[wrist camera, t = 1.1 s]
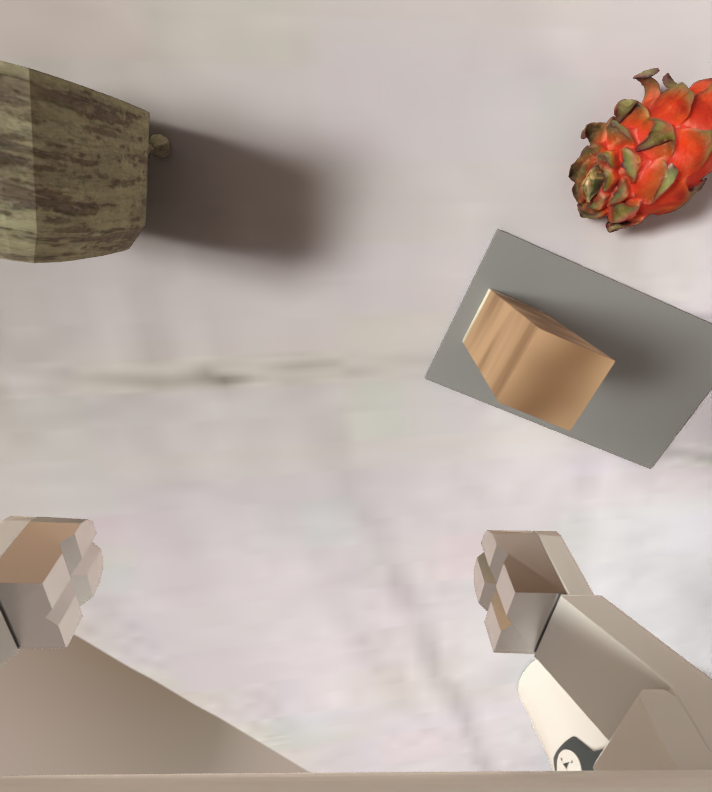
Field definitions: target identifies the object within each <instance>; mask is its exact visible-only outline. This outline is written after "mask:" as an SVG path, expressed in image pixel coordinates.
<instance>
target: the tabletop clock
mask: <svg viewBox="0 0 712 792" xmlns="http://www.w3.org/2000/svg"><path fill="white" fill-rule="evenodd" d="M149 118H150V114H149V112H147V111H145V110H143V109H140V108H138V107H136V106H133V105H131V104H129V103H126V102H124V101H122V100H119V99H116V98H113V97H111V96H108V95H105V94H103V93H100V92H97V91H95V90H92V89H89V88H87V87H84V86H81V85H78V84H75V83H72V82H70V81H67V80H64V79H61V78H58V77H55V76H52V75H49V74H45V73H42V72H39V71H36V70H33V69H30V68H26V67H23V66H19V65H15V64H11V63H8V62H4V61H0V258H1V259H8V260H15V261H23V262H31V263H46V262H62V261H72V260H78V259H85V258H91V257H98V256H104V255H108V254H112V253H116V252H120V251H124V250H127V249H129V248H130V247H131V245H132V244H133V242H134V241H135V239H136V238H137V236H138V235H139V234H140V232H141V231H142V229H143V228H144V226H145V224H146V204H147V175H148V154H149V153H151V152H152V153H153V154H154V155H156V156H158V157H165V156H167V155H168V153H169V152H170V150H171V149H170V142H169V141H168V139H167V138H166V137H164V136H163V135H161V134H156V135H152V136H151V138H150V140H149Z"/></svg>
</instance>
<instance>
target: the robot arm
mask: <svg viewBox="0 0 712 792" xmlns="http://www.w3.org/2000/svg"><path fill="white" fill-rule="evenodd" d="M95 535H96V530H95V527H94V524H93V521H91V520H87V519H70V518H51V517H22V516H10V517H8V518H6V519H4V520H3V521H2V522H1V523H0V668H1V667H2V666H3V665H4V664H5V663H6V662H8V661H9V660H10V659H11V658H12V657H13V656H14V655H16V654H17V653H18V652H19V650H18V649H41V648H43V649H48V648H67V646H68V644H69V642H70V640H71V638H72V636H73V634H74V632H75V630H76V629H77V627H78V625H79V623H80V621H81V619H82V617H83V615H82V612H81V609H80V606H81V605H82V604H83V603H85V602H86V601H88V600H89V599H90V598H92V597H93V596H94V594H95V591H96V589H97V587H98V585H99V583H100V579H101V575H102V571H103V556H102V552H101V549H100V548H99V547H98V546H97V545H95V544H94V543H93V542H92V540H93V539H94V537H95ZM481 544H482V547H483V550H484V553H482V554H481V555H480V556H479V557H477V560H476V564H475V568H474V585H475V592H476V595H477V599H478V602H479V604H480V605H481V606H482V607H483V608H484V609H486V610H487V611H488V612H487V615H486V619H485V622H484V623H485V626H486V629H487V632H488V635H489V639H490V642H491V645H492V648H493V652H497V653H523V654H535V657H536V660H534V661H533V662H532V663H531V664H530V665H529V666H528V667H527V668H526V670H525V671H524V673H523V674H522V676H521V678H520V681H519V686H518V693H519V698H520V700H521V702H522V704H523V706H524V708H525V709H526V711H527V713H528V715H529V717H530V719H531V721H532V726H533V729H534V732H535V734H536V736H537V737H538V738H540V741H541V743H542V745H543V748H544V750H545V753H546V755H547V757H548V760H549V762H550V765H551V767H552V769H553V771H481V772H356V773H238V774H237V773H236V774H233V773H232V774H130V775H129V774H128V775H127V774H125V775H123V774H122V775H16V776H15V775H14V776H13V775H12V776H0V792H712V679H711V678H709V677H708V676H707V675H705V674H704V673H703V672H701V671H700V670H699V669H697V668H696V667H695V666H693V665H692V664H691V663H690V662H688V661H687V660H686V659H684V658H683V657H682V656H680V655H679V654H678V653H676V652H675V651H674V650H672V649H671V648H670V647H668V646H667V645H666V644H665V643H663V642H662V641H661V640H659V639H658V638H657V637H655V636H654V635H653V634H651V633H650V632H649V631H647V630H646V629H645V628H643V627H642V626H641V625H640V624H638V623H637V622H636V621H634V620H633V619H632V618H630V617H629V616H628V615H626V614H625V613H624V612H622V611H621V610H620V609H618V608H617V607H616V606H615V605H613V604H612V603H611V602H609V601H608V600H607V599H605V598H604V597H603V596H599V595H594V594H593V592H592V590H591V588H590V587H589V585H588V583H587V581H586V579H585V578H584V576H583V574H582V572H581V571H580V569H579V567H578V565H577V563H576V562H575V560H574V558H573V556H572V554H571V553H570V551H569V549H568V547H567V546H566V544H565V542H564V540H563V538H562V537H561V535H560V534H559V533H557V532H556V531H503V530H487V531H486V532H485V534H484V535H483V539H482V542H481Z"/></svg>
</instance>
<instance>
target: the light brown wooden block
mask: <svg viewBox="0 0 712 792" xmlns="http://www.w3.org/2000/svg"><path fill="white" fill-rule="evenodd" d="M462 342H463V343H464V345H465V347H466V348H467V350H468V352H469V353H470V355H471V357H472V358H473V360H474V362H475V364H476V365H477V367H478V369H479V370H480V372H481V374H482V375H483V377H484V379H485V380H486V382H487V384H488V385H489V387H490V389H491V391H492V392H493V394H494V396H495V397H496V399H497V401H498V402H499V403H501V404H504V405H506V406H509V407H511V408H514V409H516V410H519V411H521V412H524V413H526V414H529V415H531V416H534V417H536V418H539V419H541V420H544V421H546V422H549V423H551V424H553V425H556V426H558V427H561V428H563V429H566V430H568V431H570V430H571V429H572V427H573V426H574V424H575V423H576V421H577V420H578V418H579V416H580V415H581V413H582V412H583V410H584V409H585V407H586V406H587V404H588V403H589V401H590V400H591V398H592V397H593V395H594V393H595V392H596V390H597V389H598V387H599V386H600V384H601V383H602V381H603V380H604V378H605V377H606V375H607V373H608V372H609V370H610V369H611V367H612V366H613V364H614V363H615V360H613V359H612V358H610V357H609V356H607V355H606V354H604V353H603V352H601V351H600V350H598V349H597V348H596V347H594V346H593V345H591V344H590V343H588V342H587V341H585V340H584V339H582V338H581V337H579V336H578V335H576V334H575V333H573V332H572V331H570V330H569V329H567V328H566V327H564V326H563V325H561V324H560V323H558V322H557V321H555V320H554V319H553V318H551V317H550V316H548V315H547V314H545V313H544V312H542V311H540V310H538V309H536V308H533V307H531V306H529V305H526V304H524V303H522V302H519V301H517V300H515V299H512V298H510V297H508V296H505V295H503V294H501V293H498V292H496V291H494V290H491V289H488V291H487V293H486V295H485V297H484V299H483V301H482V303H481V305H480V307H479V309H478V311H477V313H476V315H475V317H474V319H473V321H472V323H471V325H470V327H469V329H468V331H467V333H466V334H465V336H464V338H463V340H462Z"/></svg>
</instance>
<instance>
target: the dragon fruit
mask: <svg viewBox="0 0 712 792" xmlns="http://www.w3.org/2000/svg"><path fill="white" fill-rule="evenodd" d="M709 63H710V62H709ZM659 71H660V70H659V69H658V68H654V69H650V70H646V71H643V72H642V73H639V74H638V75H636V76H634V77H633V79H637V80H638V81H640V82H641V84H642V85H643V86H644V88H645V96H644V99H643V101H642V104H641V103H640V102H639V101H636V100H631V99H630V100H626V99H623V100H621V101H619V102H618V104H617V105H616V107H615V110H614V115H615V116H616V117H615V116H613V117H611V118H610V119H609V120H608V122H607V123H602V122H599V123H590V124H588V125H586V127H585V129H584V130H583V131H582V134H581V138H582V139H585V138H586V137H587V138H588V140H589V142H590V146H586V147H585V148H584V149H583V151H582V153H581V156H580V157H579V158H578V159H577V161H576V162H575V163H574V164H572V165H571V168H570V171H569V178H570V179H571V180H572V181H574V182H575V184H574V186H573V188H572V192H573V196H574V197H575V199H576V201H577V202H578V204H577V206H578V211H579V213H580V216H581V217H583V218H590V219H595V218H603V217H604V216H608V220H609V221H608V222H607V223H606V228H607V230H608V232H609V233H611V232H614V231H617V230H619V229H622V228H626V227H630V226H635V225H637V224H639V223H641V222H642V221H643V219H644V218H645V217H646V216H648V215H650V214H654V215H662V214H666V213H670V212H672V211H675V210H677V209H679V208H680V207H682V206H683V205H684V204H685V203H687V201H688V200H689V199H690V198H691V197H692V195H694V193H696V192H697V191H699V190H700V189H701V188H702V186H703V185H704V183H705V182H706V180H707V178H705V179H704V180H702V178H703V177H704V176H705V175H707V174H708V173H710V172H711V171H712V78H709V79H703V80H699V81H697V82H695V83H693V84H692V86H691V87H690V88H688V87H687V86H686V85H685V84H684V83H683V82H681V83H680V84H676V83H675V82H674V80H673V79H672V78H671V76H670V75H669V73H667V74H666V75H665V76H664V77H663V79H662V81H663V83H664V85H665V86H666V87H667V88H669V89H667V90H666V91H665V92H663V93H662V94H661V91H660V87H659V83H658V82H657V81H656V80H655V79H653V78H652V77H651V76H653V75H655V74H656V73H658V72H659Z"/></svg>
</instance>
